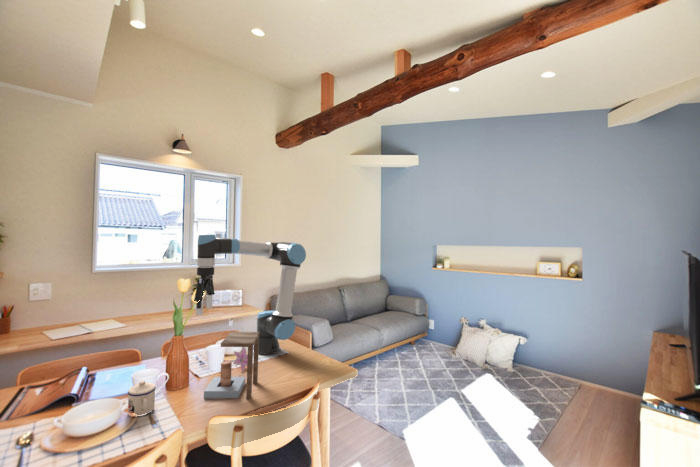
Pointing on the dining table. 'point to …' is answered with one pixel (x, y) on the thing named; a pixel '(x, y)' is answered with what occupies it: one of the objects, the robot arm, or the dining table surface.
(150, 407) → the teacup with lid
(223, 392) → the socket
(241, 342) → the brown frame
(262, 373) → the dining table surface
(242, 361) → the lily
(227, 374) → the peg
